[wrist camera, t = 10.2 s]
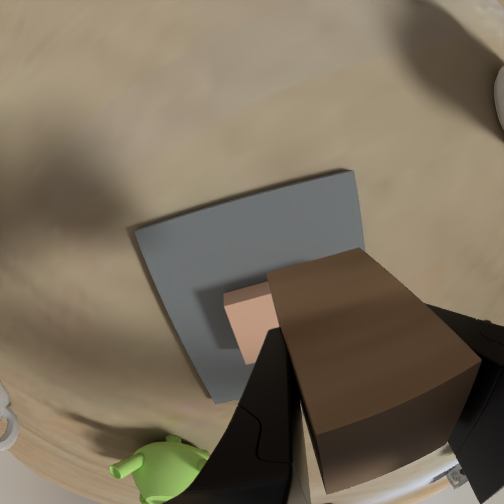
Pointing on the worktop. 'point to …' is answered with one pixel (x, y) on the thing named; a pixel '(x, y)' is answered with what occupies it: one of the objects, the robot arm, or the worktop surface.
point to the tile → (251, 317)
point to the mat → (242, 261)
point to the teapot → (162, 469)
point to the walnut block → (369, 366)
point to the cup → (8, 439)
